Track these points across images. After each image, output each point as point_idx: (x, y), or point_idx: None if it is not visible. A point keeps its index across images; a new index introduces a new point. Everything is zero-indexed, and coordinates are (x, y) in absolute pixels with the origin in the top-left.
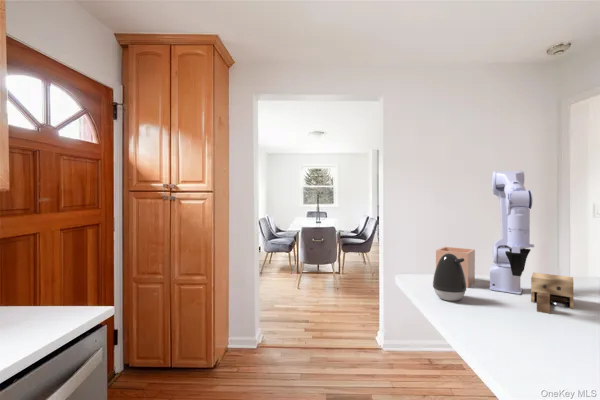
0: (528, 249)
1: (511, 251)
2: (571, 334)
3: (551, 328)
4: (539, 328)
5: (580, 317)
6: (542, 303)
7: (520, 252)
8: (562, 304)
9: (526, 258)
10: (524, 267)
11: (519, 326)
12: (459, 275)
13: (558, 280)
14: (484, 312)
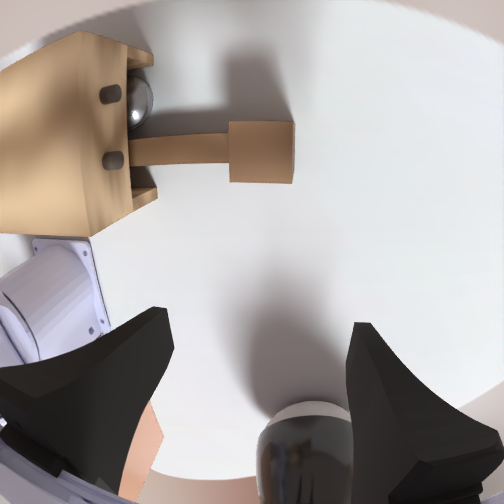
0: (16, 412)
1: (117, 478)
2: (494, 89)
3: (478, 137)
4: (495, 174)
5: (264, 23)
6: (293, 152)
7: (89, 441)
8: (145, 87)
9: (77, 354)
10: (138, 319)
11: (501, 230)
12: (346, 474)
13: (68, 100)
14: (414, 330)
